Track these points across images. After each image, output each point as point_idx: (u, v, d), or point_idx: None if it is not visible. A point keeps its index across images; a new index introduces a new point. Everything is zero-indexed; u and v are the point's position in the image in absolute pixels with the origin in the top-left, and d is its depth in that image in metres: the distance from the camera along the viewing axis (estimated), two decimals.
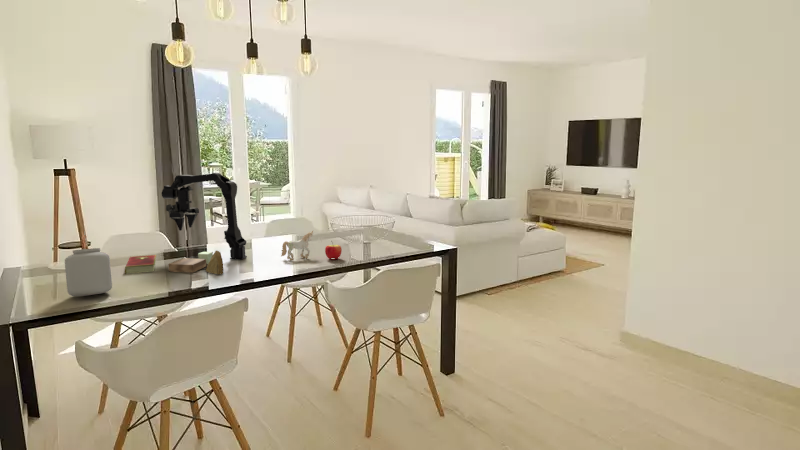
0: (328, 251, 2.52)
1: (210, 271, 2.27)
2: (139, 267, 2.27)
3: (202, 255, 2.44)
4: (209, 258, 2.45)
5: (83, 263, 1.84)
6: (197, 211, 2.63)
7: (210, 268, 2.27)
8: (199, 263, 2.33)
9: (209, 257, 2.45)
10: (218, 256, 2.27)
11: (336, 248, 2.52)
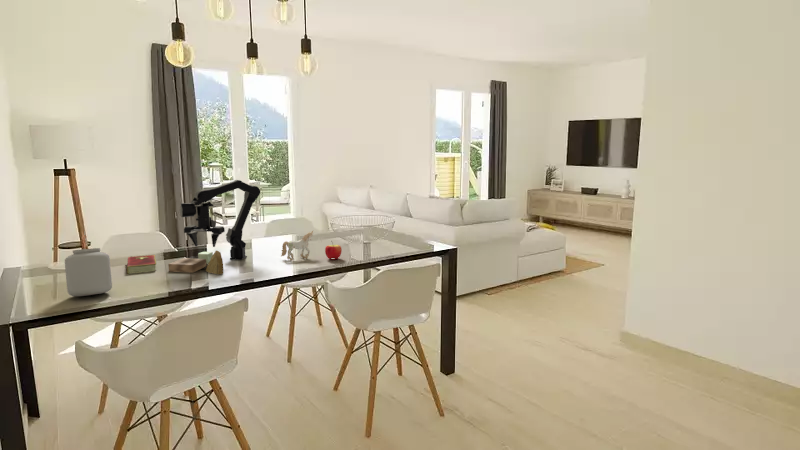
0: (328, 251, 2.52)
1: (210, 271, 2.27)
2: (141, 267, 2.27)
3: (202, 255, 2.44)
4: (209, 258, 2.45)
5: (83, 263, 1.84)
6: (215, 231, 2.40)
7: (210, 268, 2.27)
8: (199, 263, 2.33)
9: (209, 257, 2.45)
10: (218, 256, 2.27)
11: (336, 248, 2.52)
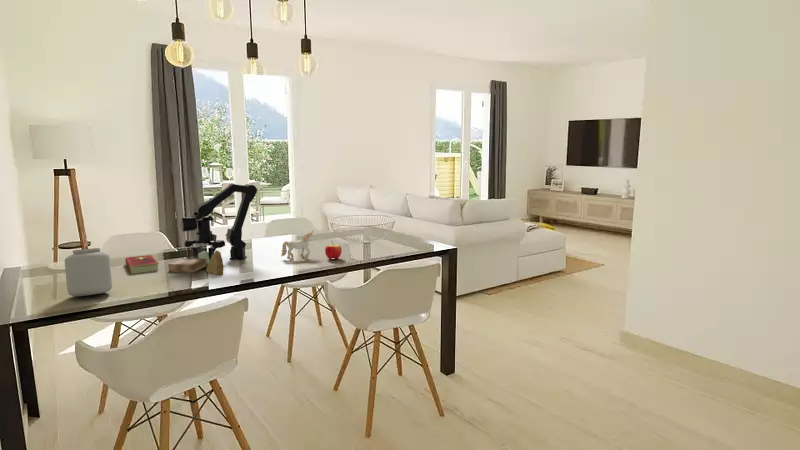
0: (328, 251, 2.52)
1: (210, 271, 2.27)
2: (144, 266, 2.28)
3: (202, 255, 2.44)
4: None
5: (83, 263, 1.84)
6: (215, 246, 2.42)
7: (210, 268, 2.27)
8: (199, 263, 2.33)
9: None
10: (218, 256, 2.27)
11: (336, 248, 2.52)
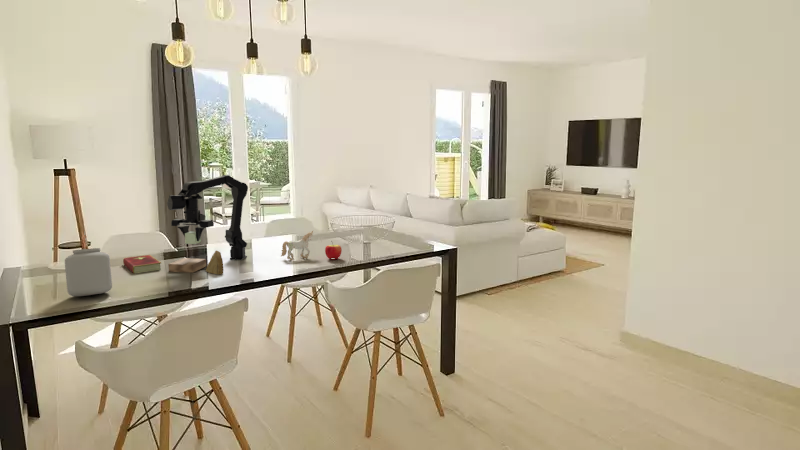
0: (328, 251, 2.52)
1: (210, 271, 2.27)
2: (146, 266, 2.28)
3: (189, 235, 2.34)
4: (196, 238, 2.36)
5: (83, 263, 1.84)
6: (203, 225, 2.32)
7: (210, 268, 2.27)
8: (199, 263, 2.33)
9: None
10: (218, 256, 2.27)
11: (336, 248, 2.52)
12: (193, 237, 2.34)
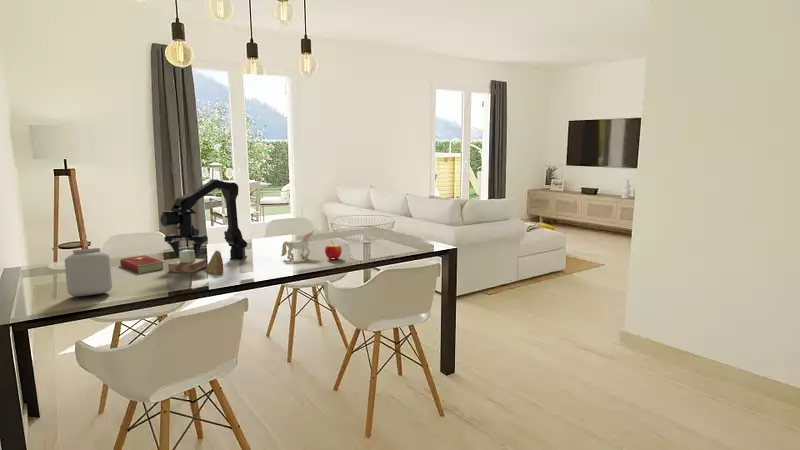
0: (328, 251, 2.52)
1: (210, 271, 2.27)
2: (150, 266, 2.29)
3: (183, 253, 2.31)
4: (191, 257, 2.32)
5: (83, 263, 1.84)
6: (197, 241, 2.28)
7: (210, 268, 2.27)
8: (199, 263, 2.33)
9: (191, 255, 2.32)
10: (218, 256, 2.27)
11: (336, 248, 2.52)
12: (188, 256, 2.31)
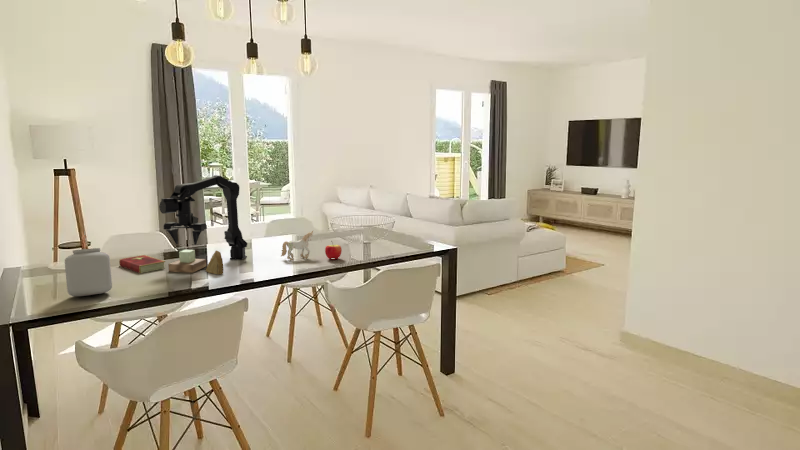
0: (328, 251, 2.52)
1: (210, 271, 2.27)
2: (152, 265, 2.30)
3: (183, 253, 2.31)
4: (191, 256, 2.33)
5: (83, 263, 1.84)
6: (196, 228, 2.27)
7: (210, 268, 2.27)
8: (199, 263, 2.33)
9: (191, 255, 2.33)
10: (218, 256, 2.27)
11: (336, 248, 2.52)
12: (188, 256, 2.31)
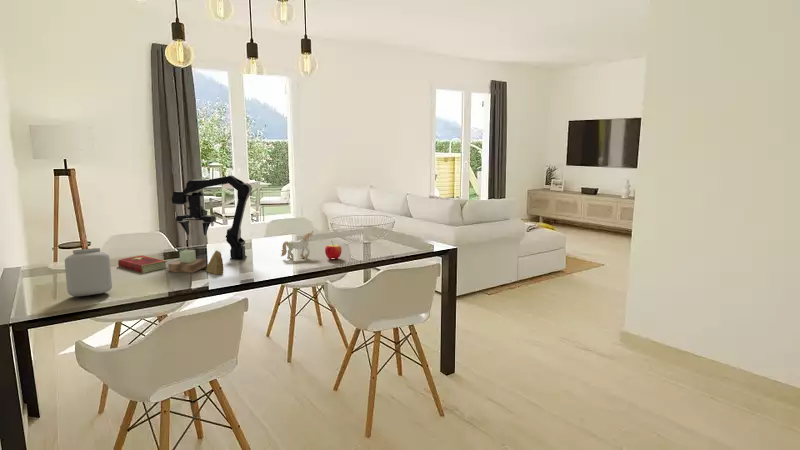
0: (328, 251, 2.52)
1: (210, 271, 2.27)
2: (153, 265, 2.31)
3: (184, 253, 2.31)
4: (191, 256, 2.32)
5: (83, 263, 1.84)
6: (206, 220, 2.47)
7: (210, 268, 2.27)
8: (199, 263, 2.33)
9: (191, 255, 2.32)
10: (218, 256, 2.27)
11: (336, 248, 2.52)
12: (188, 256, 2.31)
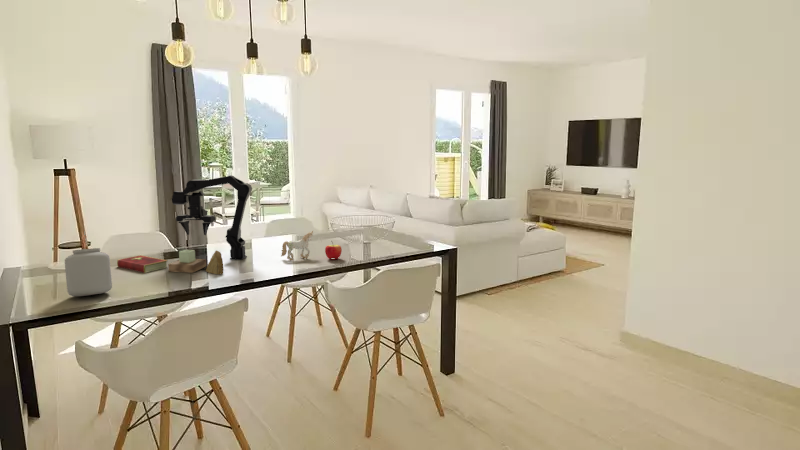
0: (328, 251, 2.52)
1: (210, 271, 2.27)
2: (155, 265, 2.31)
3: (183, 253, 2.31)
4: (190, 256, 2.32)
5: (83, 263, 1.84)
6: (206, 220, 2.47)
7: (210, 268, 2.27)
8: (199, 263, 2.33)
9: (190, 255, 2.32)
10: (218, 256, 2.27)
11: (336, 248, 2.52)
12: (187, 256, 2.31)
